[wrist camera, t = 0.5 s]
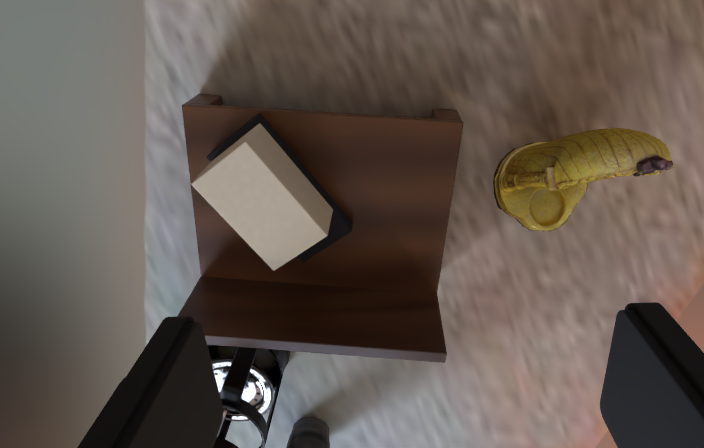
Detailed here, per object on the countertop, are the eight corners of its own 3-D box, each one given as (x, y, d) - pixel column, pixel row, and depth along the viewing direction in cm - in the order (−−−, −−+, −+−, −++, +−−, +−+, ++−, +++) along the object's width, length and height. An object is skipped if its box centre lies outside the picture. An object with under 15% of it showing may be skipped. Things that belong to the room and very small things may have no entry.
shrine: (525, 77, 40) (595, 131, 26) (619, 102, 40) (735, 167, 27) (475, 201, 45) (513, 298, 32) (559, 222, 46) (631, 326, 32)
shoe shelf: (198, 93, 42) (135, 135, 31) (456, 109, 41) (482, 157, 31) (215, 262, 50) (168, 341, 39) (432, 278, 49) (445, 363, 38)
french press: (275, 392, 58) (215, 623, 37) (197, 368, 57) (92, 592, 36) (305, 318, 52) (254, 540, 32) (220, 290, 51) (112, 501, 31)
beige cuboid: (211, 151, 40) (185, 179, 35) (260, 112, 38) (240, 135, 33) (305, 254, 44) (294, 293, 39) (353, 223, 42) (348, 259, 37)
